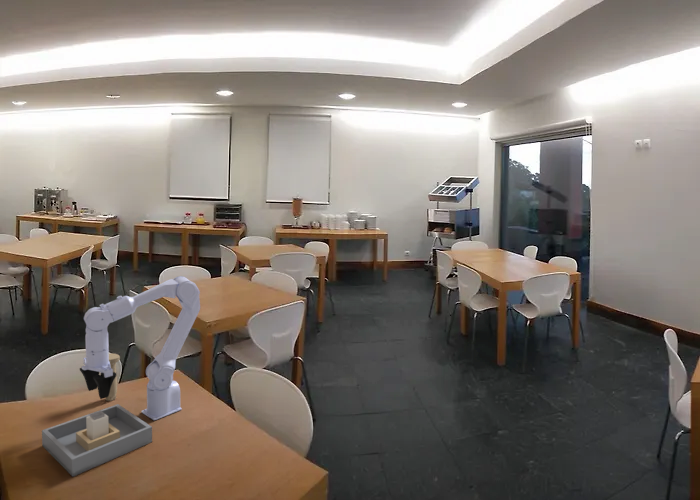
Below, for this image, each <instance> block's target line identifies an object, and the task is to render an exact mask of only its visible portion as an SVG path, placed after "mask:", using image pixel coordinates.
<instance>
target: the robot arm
mask: <svg viewBox="0 0 700 500" xmlns="http://www.w3.org/2000/svg"><path fill="white" fill-rule="evenodd" d="M200 294H201V291H200V289H199V288H198V286H197V283H195V282H194V281H192V280H190V279H189V278H187V277H186V276H183V275H180V276H176V277H174V278H170V279H167V280H165V281H163V282H161V283H160V284H158V285H155V286H153V287H151V288H149V289H147V290H145V291H142V292H140V293H138V294H136V295H134V296H128V295H123V296H122V295H118V296H117V297H116V299H114V300H112V301H110V302H107V303H105V304H104V303H101V304H99V306H98V307H97V306H94V307H91V308H89V309H88V310H86V312H85V313H84V316H83V321H84V323H85V339H84V340H85V357H83V361H82V362H83V365H82V366H81V367H79V371H80V373H81V374H82V375H83V378H84V381H85V384H86V387H87V390H88V391H89V392H90V391H93V390H96V389H97V392H98V396H99V398H100V399H106V397H108V396H109V393H110V389H111V385H112V383H113V381H114V379H115V377H116V374H117V372H116V373H115V372H113V369H112V368H111V366H110V362H109V353H110V350H109V347H110V346H109V332H108V326H109V325H110V324H111V323H114V322H117V321H118V320H121V319H123V318H126V317H128V316H130V315H132V314H134V313H135V312H136V310H137V308H139V307H141V306H143V305H145V304H149V303H152V302H154V301H156V300H160V299H161V298H170V299H178V302H179V304H180V306H181V310H180V313H179V314H178V316H177V318H176V320H175V322H174V324H173V326H172V329H171V331H170V332H169V334H168V337H167V338H166V341H165V343H164V344H163V347H162V348H161V351H160V353H158V354H157V355H156V356H155V357H154V359H153V361H152V362H150V363H149V364H148V365H147V367H146V369H145V376H146V377H147V378H148V383H147V384H146V408H145V409H142V410H141V412H140V413H142V414H143V415H145V416H147V417H148V418H149V419H151V420H153V421H157V420H159V419H161V418H164V417H167V416H169V415H171V414H174V413H176V412H179V411H181V410H183V409H182V407H181V388H180V384H179V383H178V382H177V381H176V380H174V373H175V370H176V361H177V358H178V356H179V354H180V352H181V350H182V348H183V346H184V343H185V342H186V339H187V337H188V336H189V333H190V332H191V329H192V327H193V325H194V323H195V320H196V319H197V317H198V315H199V313H200V310H201V302H200V300H201V299H200Z"/></svg>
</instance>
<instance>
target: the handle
mask: <svg viewBox="0 0 700 500" xmlns="http://www.w3.org/2000/svg"><path fill="white" fill-rule="evenodd" d="M120 359H121V356H120V355H119V354H117V353H110V352H109V362H110V366H111V368H112V369H113V372H115V373H116V377H115V379H114V381H113V383H112V385H111V389H110V393H109V396H108V397H106V398H105V401H106V402H109V401H110V402H111V401H114V400H116V399H117V391H118V378H117V377H118V376H117V366H116V365H117V363H118V362H119V361H120Z"/></svg>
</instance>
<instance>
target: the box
mask: <svg viewBox="0 0 700 500" xmlns="http://www.w3.org/2000/svg"><path fill="white" fill-rule="evenodd" d="M98 411H101V412H103V413H104V414H106V415H107V416H108V423H109V434H107V435H104V436H102V437H99V438H96V439H94V440H90V439H88V438H87V427H86V417H88V416H90V414H92V413H95V412H98ZM92 413H88V414H86V415H82V416H80V417H77V418H73V419H70V420H68V421H65V422H62V423H60V424H57V425H53V426H50V427H47V428H44V429H42V430H41V443H42V444H41V446H42V447H43V449H45V450H46V452H48V453H49V455H51V456H52V457H53V458H54V459H55V461H57V463H59V465H61V466H62V468H63V469H64V470H65V471H66V472H67V473H68V474H70V476H71V477H76V476H78V475H80V474H83V473H85V472H87V471H89V470H91V469H94V468H96V467H99V466H101V465H103V464H104V463H107V462H110V461H112V460H115V459H117V458H119V457H122V456H123V455H126V454H128V453H130V452H133V451H134V450H137V449H139V448H141V447H144V446H146V445H148V444H151V443H152V442H153V426H152V425H150V424H148V423H147V422H146V421H144V420H142V419H141V418H139V417H138V416H137V415H135V414H134V413H133V412H131V411H129V410H128V409H126V408H124V407H123V406H121V405H120V404H118V403H117V404H114V405H112V406H109V407H106V408H103V409H100V410H97V411H94V412H92Z"/></svg>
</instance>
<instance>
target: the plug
mask: <svg viewBox="0 0 700 500" xmlns="http://www.w3.org/2000/svg"><path fill="white" fill-rule="evenodd" d="M97 411H98V412H97ZM97 411H94V412H95V413H94V412H92V414H91V413H89V414H90V416H88V417H86V427H87V438H88V439H90V440H94V439H96V438H99V437H102V436H104V435H107V434H109V423H108V416H107V415H106V414H104V413H103V412H101V411H99V410H97Z"/></svg>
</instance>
